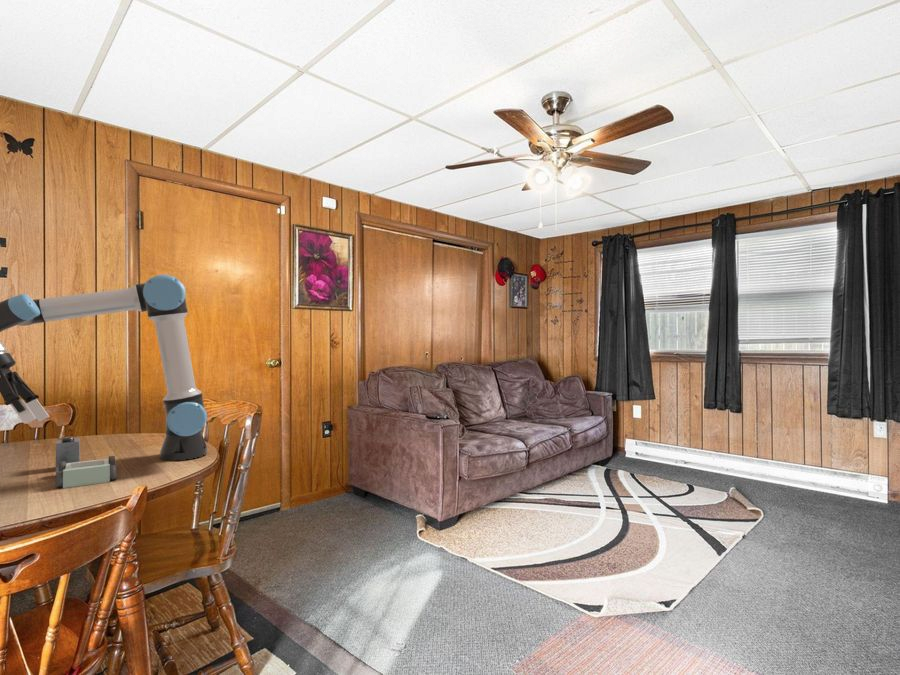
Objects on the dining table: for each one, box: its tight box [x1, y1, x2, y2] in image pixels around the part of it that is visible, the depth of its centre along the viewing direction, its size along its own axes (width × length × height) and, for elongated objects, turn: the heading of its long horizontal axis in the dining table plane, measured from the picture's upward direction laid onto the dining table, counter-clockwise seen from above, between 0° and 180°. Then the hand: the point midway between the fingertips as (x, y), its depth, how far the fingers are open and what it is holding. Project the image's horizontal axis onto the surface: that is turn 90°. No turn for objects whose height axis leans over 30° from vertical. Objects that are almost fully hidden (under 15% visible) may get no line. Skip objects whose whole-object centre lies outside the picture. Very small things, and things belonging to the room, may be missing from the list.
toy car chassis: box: [55, 455, 117, 489], centre depth 150 cm, size 17×14×5 cm
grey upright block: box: [55, 436, 81, 472], centre depth 160 cm, size 6×6×10 cm
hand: (37, 420), depth 142 cm, fingers open, 13 cm apart
